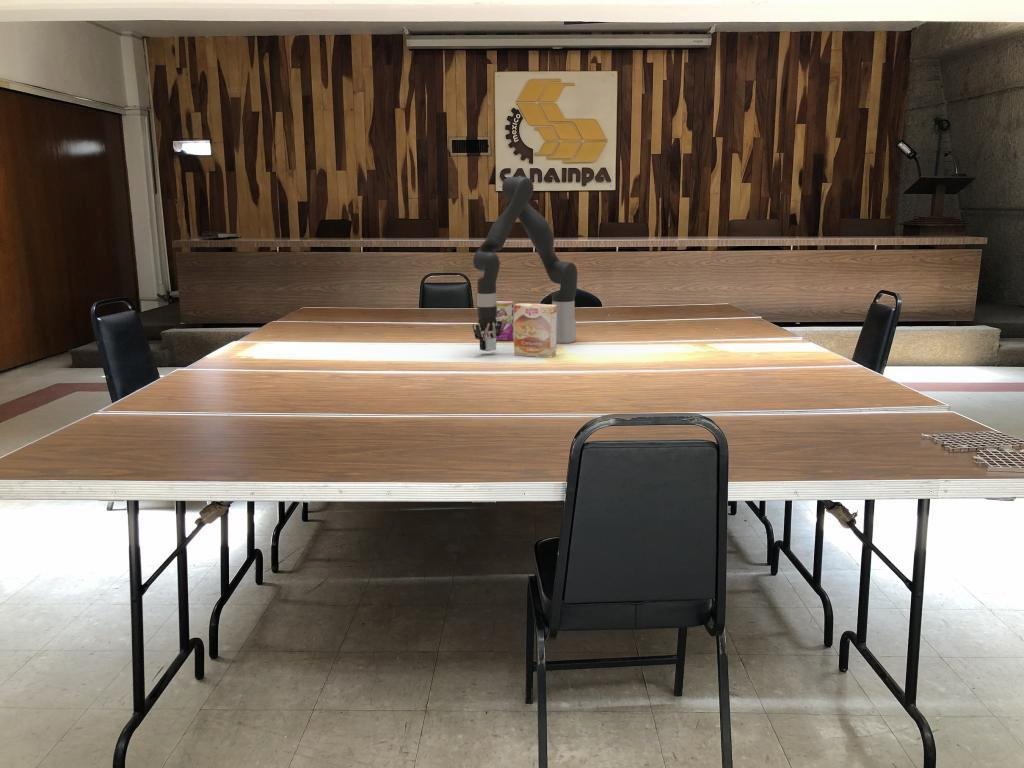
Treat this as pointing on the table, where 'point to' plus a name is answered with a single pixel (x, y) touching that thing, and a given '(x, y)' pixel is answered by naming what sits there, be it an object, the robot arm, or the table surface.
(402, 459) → the table surface
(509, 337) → the candy bar box
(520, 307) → the coffeecake box
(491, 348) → the blue-grey cube
